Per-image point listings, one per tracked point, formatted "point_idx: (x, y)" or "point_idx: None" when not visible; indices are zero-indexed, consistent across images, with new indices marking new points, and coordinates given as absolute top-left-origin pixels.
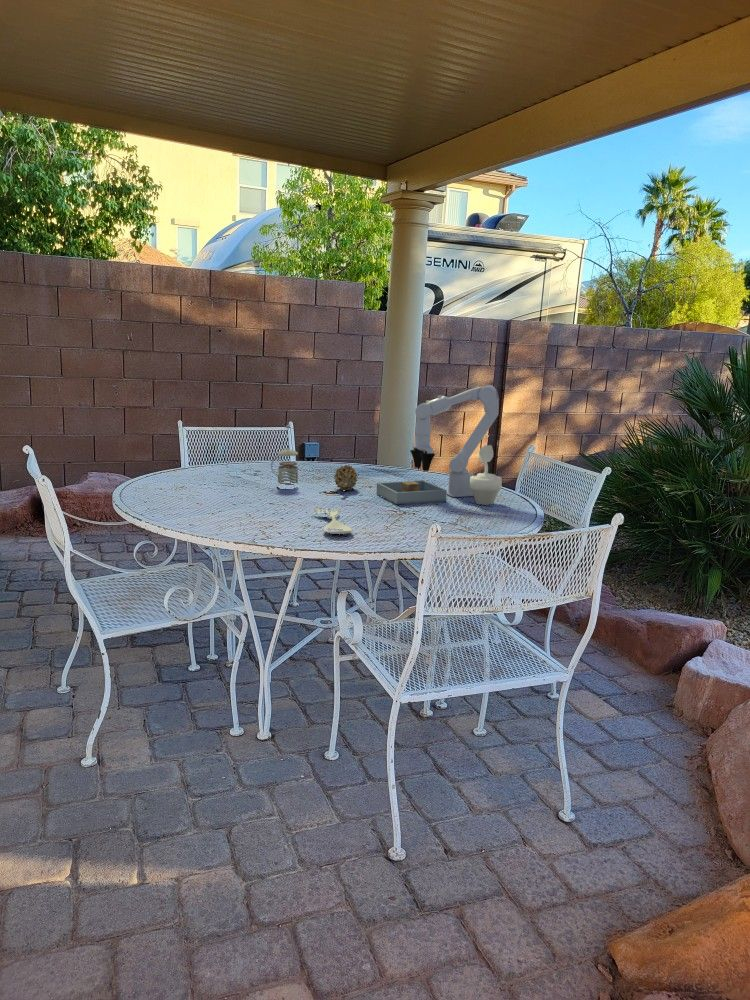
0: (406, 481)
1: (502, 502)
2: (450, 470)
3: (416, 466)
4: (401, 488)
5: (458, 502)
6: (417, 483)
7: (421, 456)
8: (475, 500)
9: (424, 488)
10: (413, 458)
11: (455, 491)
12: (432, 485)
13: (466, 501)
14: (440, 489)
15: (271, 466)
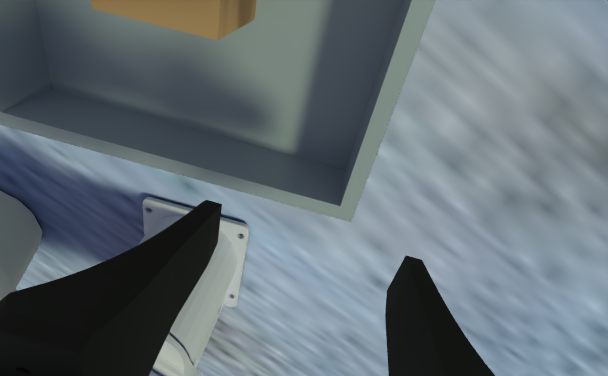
0: (396, 80)
1: (26, 274)
2: (166, 346)
3: (404, 272)
4: (401, 8)
5: (36, 141)
6: (113, 2)
7: (92, 299)
8: (3, 198)
9: (315, 170)
10: (456, 340)
11: (149, 232)
12: (177, 158)
13: (56, 186)
14: (53, 122)
15: None
